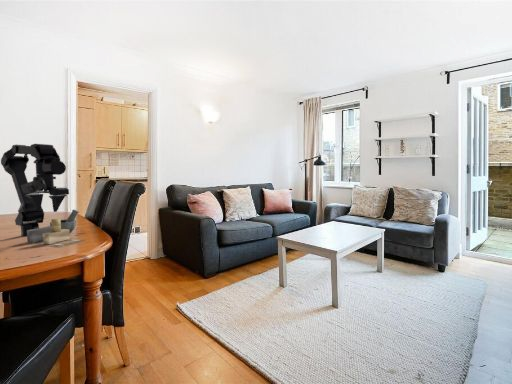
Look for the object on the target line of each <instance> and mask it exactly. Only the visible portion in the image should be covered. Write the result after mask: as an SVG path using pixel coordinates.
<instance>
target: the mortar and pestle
mask: <svg viewBox="0 0 512 384" xmlns="http://www.w3.org/2000/svg"><path fill="white" fill-rule="evenodd" d="M78 214H79V211H78V210H77V209H72V211H71V213H70V214H69V216H68V217H67V219H60V220H61V229H69V231H70V234H71V233H72V232H73V231H74V230H75V228H76V226H77V225H76V224H77V220H76V217H77V215H78ZM49 226H52V223H51V222H49Z"/></svg>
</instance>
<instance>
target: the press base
mask: <svg viewBox="0 0 512 384" xmlns="http://www.w3.org/2000/svg"><path fill="white" fill-rule="evenodd" d="M48 232H52V226H50V225H48V226H43V227H39V228H37V229H32V230H27V236H26V239H27V242H25V243H23V245H28V246H29V245H30V246H39V247H48V248H58V249H59V248H60V249H61V248H65V247H68V246H72V245H75V244H79V243H82V242H85V241H87V239H80V238H71V237H70V239H67V240H64V241H60V242H56V243H52V244H43V234H44V233H48Z"/></svg>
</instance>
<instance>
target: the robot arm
mask: <svg viewBox="0 0 512 384" xmlns="http://www.w3.org/2000/svg"><path fill="white" fill-rule="evenodd" d="M22 155H23V156H22ZM28 155H30V156H31V157H32V158H35V160H34V161H33V163H34V164H35V176H33V178H32V181H28V178H27V175H26V173H25V172H26V170H27V168H28V163H29V161H30V159H29V156H28ZM0 164H1V166H2V168H3V169H4V171H5V172H6V173H7V174H9V175H10V176H11V178H12V179H11V180H12V182H13V185H14V188H15V191H16V193H17V196H18V200H19V203H20V206H19V208H18V209H17V212H18V213H17V216H16V217H15V219H14V223H15V226H18V227H19V226H20V231H21V232H20V234H21V236H23V237H27V230H32V229H37V228H40V227H39V226H40V225H39V224H44V218H45V211H44V209H43V207H42V204H43V198H44V194H49V195H48V198H50V199H51V202H52V210H53V212H54V213H56V212H58V210H59V208H60V206H61V204H62V202H63V201H64V199H65V197H68V196H67V195H70V189H69V188H68V187H57V186H56V185H55V184H54V180H56V179H57V177H56V175H57V176H60V175H63V174H64V173H65V172H66V170H67V166H66V165H65V163H64V161H62V160H61V158H60V155H59V153H58V152H57V150H56V148H55V147H54V145H53V144H45V143H33V144H30V145H25V144H13V145H12V146H11V147H10V148H9V149H8V150H7V151H5V152H4V153H3V154H2V157H1V158H0Z"/></svg>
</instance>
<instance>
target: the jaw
mask: <svg viewBox="0 0 512 384" xmlns="http://www.w3.org/2000/svg"><path fill="white" fill-rule="evenodd" d="M50 219H51V218H50ZM61 220H62V219H61V218H52V219H51V220H50V221H51V223H52V232H48V233H44V234H43V244H52V243H56V242H60V241H64V240H67V239H70V238H71V236H70V235H71V233H70V231H69V229H61Z"/></svg>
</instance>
